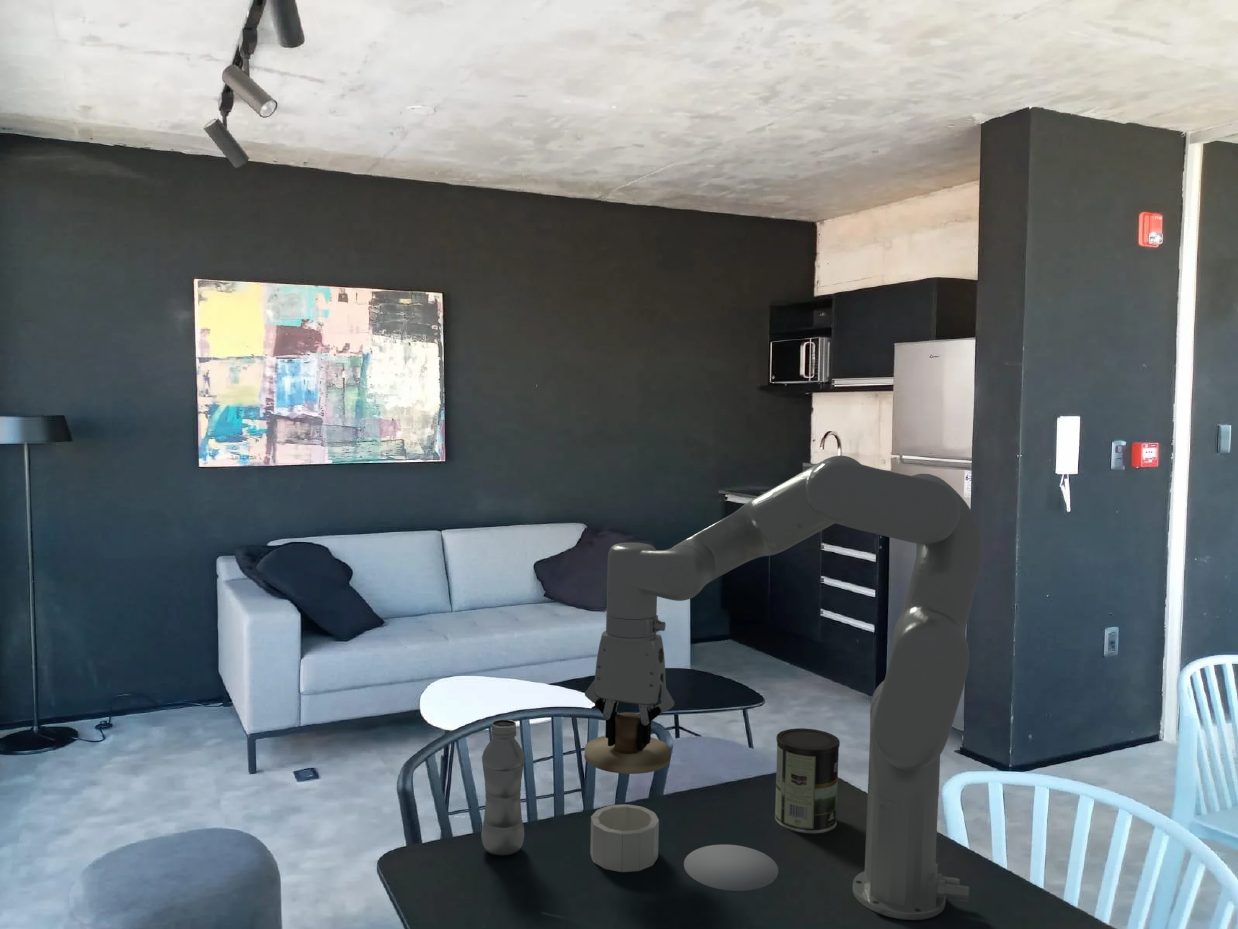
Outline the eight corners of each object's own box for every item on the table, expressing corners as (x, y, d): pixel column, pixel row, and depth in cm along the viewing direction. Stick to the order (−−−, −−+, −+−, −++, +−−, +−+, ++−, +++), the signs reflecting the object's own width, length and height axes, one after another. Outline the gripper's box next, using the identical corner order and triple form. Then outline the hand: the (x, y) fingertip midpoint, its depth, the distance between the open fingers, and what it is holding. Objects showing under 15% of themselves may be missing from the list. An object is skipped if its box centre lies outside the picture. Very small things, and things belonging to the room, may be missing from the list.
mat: (785, 855, 147) (785, 854, 147) (769, 900, 134) (769, 898, 134) (697, 840, 152) (697, 838, 152) (672, 882, 138) (672, 880, 138)
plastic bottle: (503, 865, 142) (505, 734, 141) (471, 852, 146) (473, 724, 145) (533, 849, 147) (534, 722, 146) (501, 837, 151) (502, 713, 150)
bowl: (664, 848, 149) (665, 810, 148) (645, 878, 139) (646, 838, 139) (604, 837, 152) (605, 800, 151) (581, 866, 142) (582, 827, 142)
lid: (680, 748, 148) (681, 709, 148) (655, 779, 136) (657, 737, 136) (602, 736, 153) (603, 698, 152) (571, 765, 140) (572, 724, 140)
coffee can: (829, 808, 164) (832, 728, 163) (842, 836, 154) (846, 750, 153) (769, 807, 165) (772, 726, 164) (778, 834, 154) (781, 749, 153)
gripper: (691, 626, 144) (687, 745, 145) (587, 615, 149) (585, 729, 151) (678, 638, 137) (674, 763, 138) (569, 625, 142) (566, 746, 143)
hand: (627, 744), depth 144 cm, fingers closed on lid, 4 cm apart
